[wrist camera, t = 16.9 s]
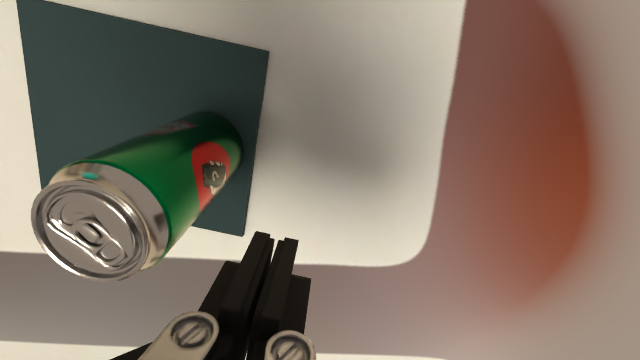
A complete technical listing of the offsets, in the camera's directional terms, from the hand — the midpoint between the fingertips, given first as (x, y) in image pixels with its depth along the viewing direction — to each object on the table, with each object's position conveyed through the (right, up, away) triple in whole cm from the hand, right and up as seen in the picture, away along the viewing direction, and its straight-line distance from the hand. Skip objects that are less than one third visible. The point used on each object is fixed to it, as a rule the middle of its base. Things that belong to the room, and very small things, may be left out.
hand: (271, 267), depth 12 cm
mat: (-11, +7, +11) cm, 17 cm away
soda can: (-6, +6, +11) cm, 14 cm away
